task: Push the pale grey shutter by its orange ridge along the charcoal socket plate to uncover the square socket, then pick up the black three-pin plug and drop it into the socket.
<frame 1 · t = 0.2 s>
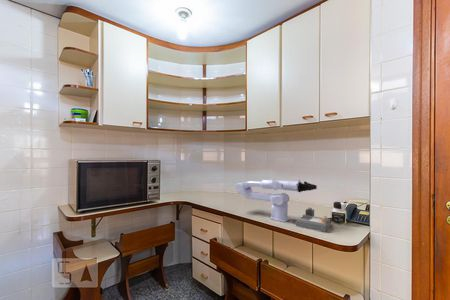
hand: (314, 187, 124), 22 cm above the worktop, tool horizontal, fingers open, 7 cm apart
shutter: (318, 218, 122), point 5 cm above the worktop, slide at 0.0 cm
medicine bottle: (339, 223, 130), on the worktop
plug: (309, 220, 135), on the worktop
socket: (313, 226, 124), on the worktop
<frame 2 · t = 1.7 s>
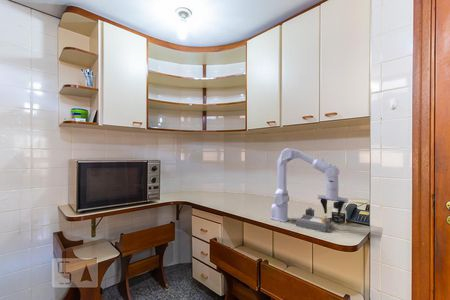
hand: (332, 214, 118), 8 cm above the worktop, tool pointing down, fingers open, 6 cm apart
nothing on the worktop moved.
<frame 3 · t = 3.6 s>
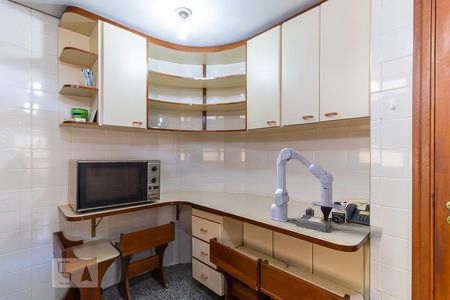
hand: (326, 220, 120), 4 cm above the worktop, tool pointing down, fingers closed
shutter: (317, 218, 123), point 5 cm above the worktop, slide at 0.6 cm, touching gripper
everything else where it was.
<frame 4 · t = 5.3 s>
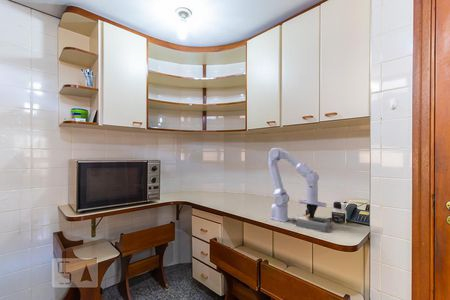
hand: (312, 218, 124), 4 cm above the worktop, tool pointing down, fingers closed
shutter: (303, 216, 127), point 5 cm above the worktop, slide at 8.1 cm, touching gripper
everything else where it was.
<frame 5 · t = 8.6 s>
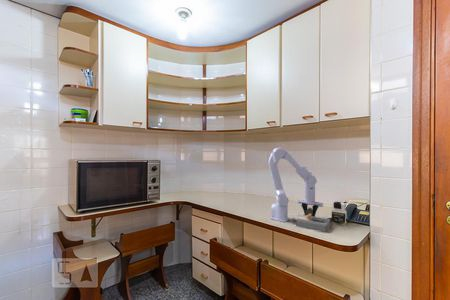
hand: (309, 216, 135), 2 cm above the worktop, tool pointing down, fingers closed on plug, 4 cm apart
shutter: (303, 216, 127), point 5 cm above the worktop, slide at 8.1 cm
plug: (309, 220, 135), on the worktop, touching gripper
everything else where it was.
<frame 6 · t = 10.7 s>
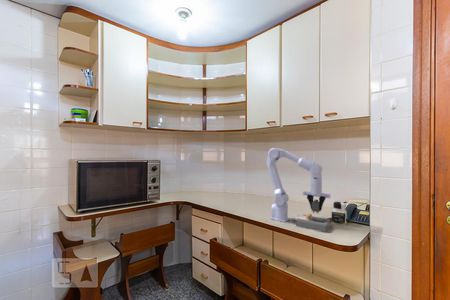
hand: (316, 209, 126), 9 cm above the worktop, tool pointing down, fingers closed on plug, 4 cm apart
plug: (316, 212, 126), point 7 cm above the worktop, touching gripper
everything else where it was.
when the fingers open (4 cm above the worktop, at t = 12.6 s): plug drops 2 cm, resting on socket.
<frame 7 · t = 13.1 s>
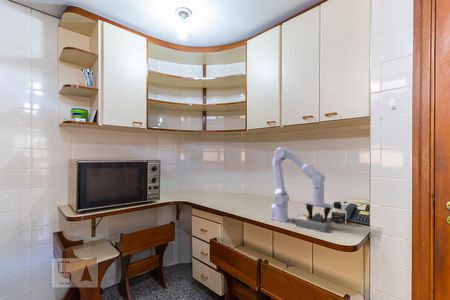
hand: (318, 219, 122), 4 cm above the worktop, tool pointing down, fingers open, 7 cm apart
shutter: (303, 216, 128), point 5 cm above the worktop, slide at 8.4 cm, touching gripper
plug: (318, 226, 122), resting on socket
everything else where it was.
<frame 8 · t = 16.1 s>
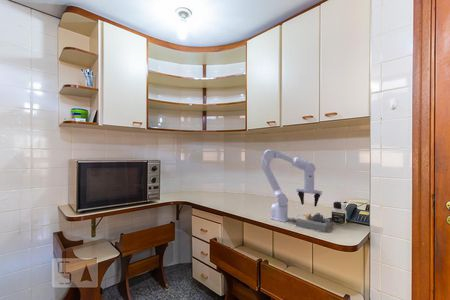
hand: (308, 205, 133), 9 cm above the worktop, tool pointing down, fingers open, 7 cm apart
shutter: (303, 216, 128), point 5 cm above the worktop, slide at 8.4 cm
everything else where it was.
at the end: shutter slide at 8.4 cm; plug 0.1 cm from the target spot on the socket, point 0.2 cm above the socket's base; plug tilted 0° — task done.
